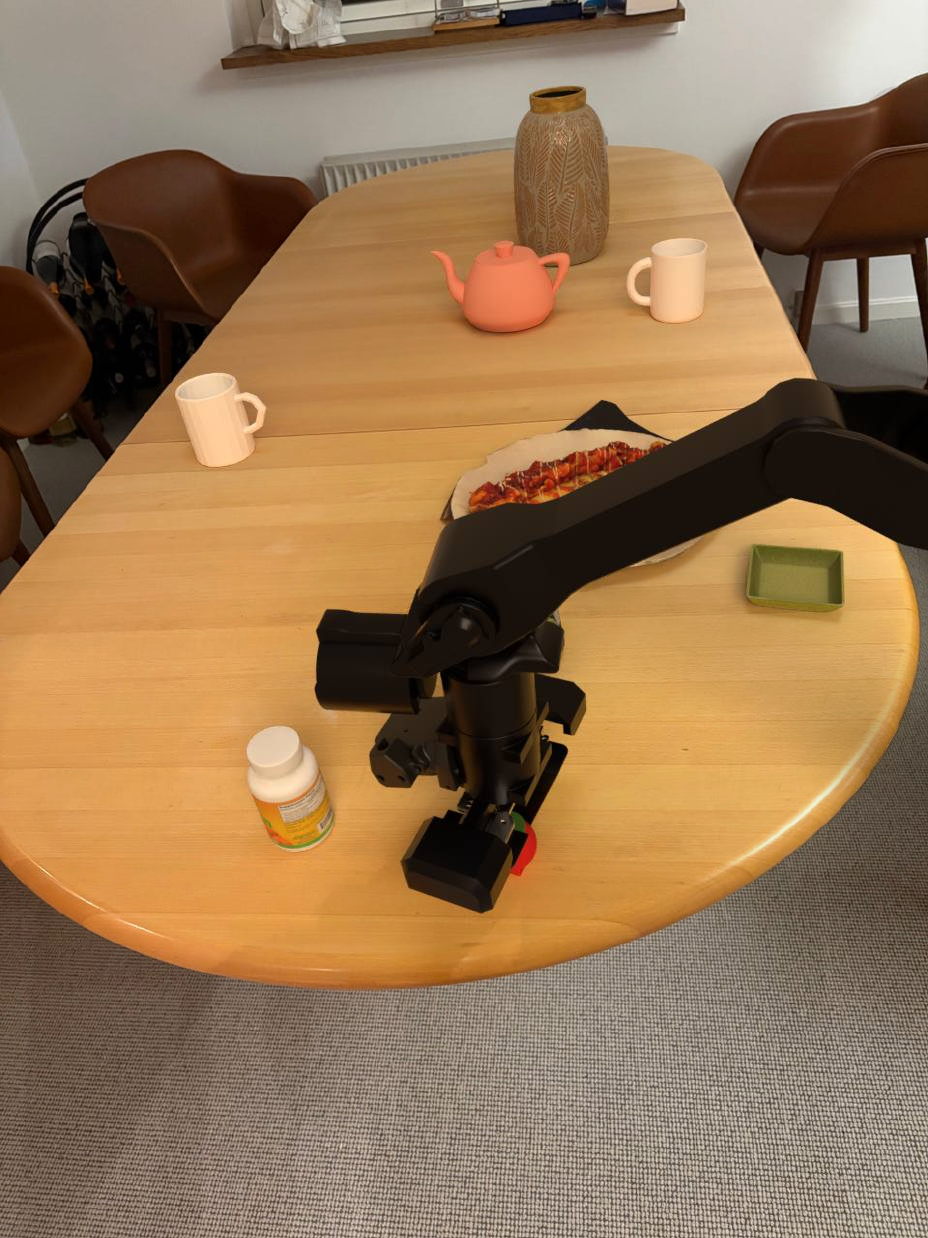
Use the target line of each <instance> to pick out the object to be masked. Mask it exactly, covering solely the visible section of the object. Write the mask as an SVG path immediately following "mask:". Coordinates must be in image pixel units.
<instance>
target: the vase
mask: <svg viewBox="0 0 928 1238" xmlns="http://www.w3.org/2000/svg"><path fill="white" fill-rule="evenodd" d="M528 99H529V100H528V101H529V110H528V111H527V112H526V113H525V114H524V116H523V118H522V119H521V121H520V122H519V125H518V127H517V128H518V129H517V131H516V136H515V142H514V150H513V151H514V154H513V200H514V202H513V203H514V213H515V215H514V216H515V224H516V233H517V238H518V241H519V245H520V246H523V247H528V248H530V249H532V250H533V251H534V252H535V253H536V255H537V256H538V257H539V258H541V257H544V256H547V255H551V254H555V253H566V254H568V255H569V257H570V266H574V265H579V264H583V263H586V262H588V261H590V260H593V259H595V258H596V257H597V256H598V255H600V253H601V250H602V248H603V246H604V244H605V242H606V240H607V237H608V233H609V230H610V229H609V227H610V207H611V205H610V202H611V201H610V197H611V195H610V173H609V160H608V159H609V158H608V150H607V142H606V137H605V136H606V135H605V132H604V131H605V130H604V126H603V124H602V121H601V119H600V117H599V115H598V114H597V112H596V110H595V109H594V108H593V107H592V106H591V105H589V104H588V103H587V88H586V87H584V86H580V85H560V86H551V87H547V88H541V89H539V90H536V91H532V92H531V93H530V94H529V95H528ZM543 265H544V266H545V267H558V264H557V263H556V262H551V263H547V264H543Z"/></svg>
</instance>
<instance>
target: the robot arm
mask: <svg viewBox="0 0 928 1238" xmlns="http://www.w3.org/2000/svg"><path fill="white" fill-rule="evenodd" d="M673 441H674V442H672V443H670V444H668V445H666V446H664V447H662V448H660V449H658V450H656V451H654V452H652V453H649V454H647V455H645V456H643V457H641V458H639V459H637V460H635V461H633V462H631V463H629V464H627V465H625V466H623V467H621V468H619V469H617V470H615V471H613V472H611V473H608V474H606V475H604V476H602V477H600V478H598V479H596V480H594V481H592V482H590V483H588V484H586V485H584V486H582V487H580V488H578V489H576V490H574V491H572V492H570V493H568V494H565V495H563V496H561V497H559V498H556V499H552V500H549V501H546V502H542V503H538V504H534V503H511V502H508V503H504V504H501V505H497V506H494V507H491V508H488V509H484V510H481V511H478V512H475V513H471V514H468V515H465V516H462V517H459V518H457V519H455V520H453V519H452V521H451V522H449V523H448V524H446V525H445V526H444V527H443V528H442V530H441V531H440V532H439V534H438V537H437V538H436V539H437V540H436V542H435V545H434V548H433V550H432V553H431V555H430V559H429V562H428V565H427V568H426V570H425V574H424V576H423V579H422V581H421V583H420V584H419V586H418V588H416V589H415V593H414V594H413V597H412V600H411V603H410V607H409V609H408V612H407V613H391V612H390V613H389V612H388V613H386V612H358V611H353V610H348V609H342V608H341V609H339V608H326V609H325V610H324V612H323V614H322V616H321V618H320V621H319V622H318V625H317V627H316V629H315V634H316V637H317V640H318V647H317V653H316V662H315V681H316V682H315V685H314V689H313V690H314V694H315V699H316V701H317V702H318V704H319V706H320V707H321V709H323V710H326V711H337V712H339V711H340V712H354V713H355V712H356V713H358V712H359V713H370V714H371V713H373V714H387V715H388V714H389V716H388V718H387V720H386V721H385V722H384V723H383V725H382V727H381V728H380V730H379V731H378V732H377V734H376V735H375V738H374V745H373V747H372V748H371V749H370V751H369V754H368V757H369V764H370V765H369V766H370V771H371V773H372V775H373V776H374V777H375V779H376V780H377V782H378V783H379V785H381V786H382V787H385V788H390V789H391V788H392V789H393V788H394V789H411V788H412V786H413V784H414V783H415V782H416V780H417V779H418V777H419V776H420V777H424V776H425V777H428V776H429V777H434V776H436V777H437V781H438V786H439V788H441V789H444V790H447V791H450V792H454V793H456V792H457V791H458V790H459V789H460V788H461V789H464V791H463V793H462V794H461V797H460V799H459V800H458V801H457V804H456V810H457V811H456V810H453V809H447V810H446V812H445V814H444V816H443V817H441V816H436V815H433V816H431V817H429V818H426V819H424V820H423V821H422V823H421V825H420V827H419V828H418V830H417V832H416V834H415V835H414V837H413V839H412V840H411V842H410V844H409V845H408V847H407V849H406V851H405V853H404V855H403V856H402V857H401V859H400V865H401V869H402V872H403V873H402V874H403V876H404V880H405V883H406V885H407V888H408V889H411V890H413V891H415V892H418V893H420V894H421V893H422V894H423V895H426V896H429V897H433V898H435V899H439V900H442V901H444V902H447V903H449V904H452V905H455V906H458V907H461V908H464V909H466V910H469V911H472V912H475V913H478V914H480V915H481V914H484V913H487V912H489V911H492V910H494V908H495V906H496V903H497V902H498V899H499V897H500V895H501V893H502V891H503V889H504V886H505V884H506V882H507V880H508V878H509V876H510V874H511V873H510V870H511V869H512V868H514V866H515V865H516V863H517V860H518V858H519V856H520V854H521V852H522V850H523V848H524V846H525V843H526V841H527V839H528V837H529V834H527V833H524V832H521V831H518V830H514V827H515V824H514V819H513V817H512V816H510V813H511V811H514V812H516V813H518V814H520V815H521V816H522V817H523V819H524V820H525V821H526V822H527V823H528V824H529V825H530V826H531V827H532V824H533V822H534V821H535V819H536V817H537V815H538V813H539V811H540V809H541V808H542V806H543V803H544V802H545V800H546V798H547V797H548V794H549V793H550V790H551V789H552V787H553V785H554V783H555V781H556V779H557V777H558V775H559V773H560V772H561V769H562V767H563V764H564V763H565V761H566V759H567V757H568V753H569V749H568V747H567V745H565V744H563V743H561V742H557V741H552V740H550V735H548V734H545V726H544V725H543V724H544V722H545V721H547V722H549V723H553V724H558V725H561V726H562V732H563V735H568V736H576V734H577V732H578V730H579V727H580V726H581V723H582V721H583V719H584V717H585V715H586V713H587V694H586V692H585V691H584V690H583V689H582V688H581V687H580V686H579V685H578V684H577V683H575V682H574V681H573V680H568V679H564V678H560V677H555V676H551V675H555V674H557V673H558V672H559V671H560V667H561V660H562V653H563V651H562V647H563V640H565V633H566V632H565V629H564V628H563V626H562V627H560V626H558V625H557V624H555V623H553V622H551V621H546V620H547V619H548V618H549V617H550V616H551V615H552V614H553V613H554V612H555V611H556V610H557V609H558V610H559V608H560V607H561V606H562V605H563V604H564V603H565V602H566V601H567V599H569V597H571V596H572V595H574V594H576V593H577V592H579V591H580V590H582V589H583V588H585V587H586V586H588V585H589V584H592V583H594V582H597V581H598V580H601V579H604V578H606V577H608V576H610V575H613V574H616V573H618V572H620V571H622V570H625V569H627V568H631V567H630V566H632V565H634V564H637V563H639V562H642V561H644V560H646V559H649V558H651V557H653V556H656V555H658V554H661V553H663V552H665V551H668V550H670V549H672V548H675V547H677V546H680V545H682V544H684V543H687V542H689V541H691V540H694V539H696V538H698V537H701V536H703V535H705V536H706V535H708V534H710V533H713V532H715V531H717V530H720V529H722V528H725V527H727V526H729V525H731V524H734V523H736V522H739V521H741V520H743V519H745V518H749V517H750V516H753V515H755V514H757V513H761V512H763V511H764V510H767V509H769V508H772V507H774V506H776V505H779V504H782V503H784V502H786V501H789V500H790V499H793V500H798V501H801V502H806V503H811V504H813V505H814V504H815V505H818V506H823V507H827V508H829V509H831V510H833V511H835V512H836V513H839V514H841V515H842V516H845V517H846V518H849V519H850V520H852V521H854V522H856V523H858V524H860V525H862V526H864V527H866V528H868V529H870V530H871V531H874V532H875V533H878V534H880V535H881V536H883V537H885V538H886V539H889V540H890V541H892V542H895V543H897V544H899V545H903V546H906V547H909V548H915V549H918V550H923V551H928V389H925V388H920V387H915V386H911V385H907V384H887V385H861V386H845V385H841V384H837V383H833V382H829V381H828V382H827V381H822V380H819V379H815V378H809V377H808V378H807V377H792V378H789V379H786V380H783V381H780V382H778V383H777V384H776V385H774V386H773V387H771V388H770V389H768V390H767V391H766V392H765V394H764V395H763V396H761V397H760V398H759V399H757V400H756V401H754V402H752V403H750V404H748V405H746V406H744V407H742V408H740V409H738V410H735V411H733V412H730V414H728V415H725V416H724V417H720V418H719V419H717V420H715V421H713V422H710V423H709V424H707V425H704V426H702V427H701V428H698V429H697V430H694V431H692V432H691V433H688V434H686V435H684V436H683V437H680V438H677V439H675V440H673ZM438 674H439V677H440V682H441V683H440V684H441V688H442V689H441V690H442V693H443V696H434V694H435V691H436V686H437V682H438Z"/></svg>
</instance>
